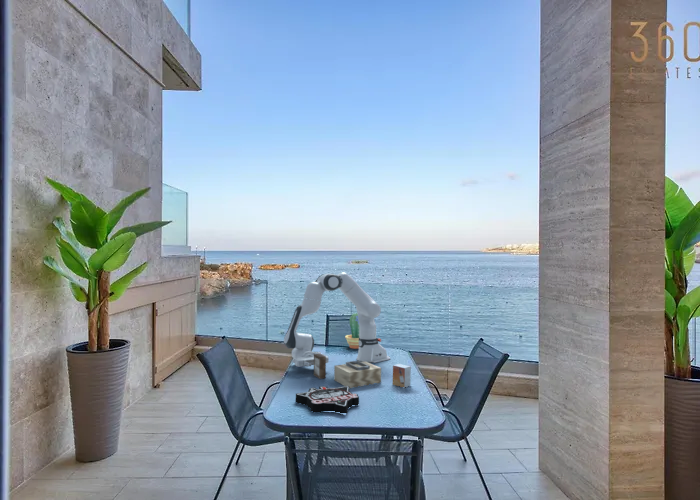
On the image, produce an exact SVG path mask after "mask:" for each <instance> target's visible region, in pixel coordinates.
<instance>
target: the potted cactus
mask: <svg viewBox="0 0 700 500" xmlns="http://www.w3.org/2000/svg"><path fill="white" fill-rule="evenodd" d="M349 326H350V331H351V334H346V335H345V336H344V337H345V339H346V342H347V344H348V346H349V348H350V349H355V350H356V349H358V350H359V319H358V313H352V314H351V315H350V317H349Z"/></svg>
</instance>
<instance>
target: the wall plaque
mask: <svg viewBox="0 0 700 500" xmlns="http://www.w3.org/2000/svg"><path fill="white" fill-rule="evenodd" d="M350 390H351V388H350V387H349V386H344V385H343V386H338V387H328V386H322V385H321V386H318V388H316V387H310V388H309V389H308V391H303V392H297V393H295V403H296V402H297V403H296V404H299V403H301V404H300V405H303V404H305V405H304V406H306V407H307V406H308V407H307V408H308V409H310V408H311V409H310V412H311V411H313V412H312V413H314V412H320V413H322V412H321V411H335V412H340V413H347V414H348V411H347V410H349V409H348V408H349V407H351V406H352V405H358V404H359V405H360V397H359V395H358V393H354V392H351V391H350ZM351 408H352V407H351Z"/></svg>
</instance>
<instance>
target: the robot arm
mask: <svg viewBox="0 0 700 500" xmlns="http://www.w3.org/2000/svg"><path fill="white" fill-rule="evenodd" d="M336 290H340V291H341V293H342V294H343V295H344V296H345V297H346V298H347V299H348V300H349V302H350V303H352V305H354V306H355V309H356V312H357V314H358V319H359V348H358V351H357V356H356V361H360V362H364V361H366V362H368V363H379V362H384V361H388V360H391V357H390V356H389V355H388V353H387V349H386V348H385V347H383V346H382V345H381V344H380V343H381V342H382V339H381V338H377V325H376V322H375V319H376V318H378V317H379V316H380V314H381V309H382V308H381V305H379V303H378V302H377V301H375V300H374V298H372V297H371V296H370V295H369V294H368V293H367V292H366V291H365V290H364V289H363V288H362V287H361V286H360V285H359V284H358V282H357V281H356V280H355V279H354V278H353V277H352V276H350V275H349V273H347V272H345V271H343V272H339V273H338V274H335V273H324V274H321V275H319V276H318V277H317V278H316V280H315V281H311V282H309V283H308V284H307V285H306V288H305V291H304V294H303V298H302V299H303V300H302V302H301V303H300V305H298V306H297V307H296V308H295V309H294V312H293V315H292V318H291V320H290V323H289V327H288V329H287V331H286V332H285V334H284V337H283V344H284V345H285V347H286V348H287V349H292V350H291V356H292V359H293V360H291V361H292V363H293V364H294V365H295V366H296V367H298V368H299V367H308V368H309V367H311V366H314V354H321V355H324V356H326V364H328V363H329V356H328V355H326V354H324V353H322V352H320V351H313V349H314V346H315V339H314V337H313V335H312V334H311V333H304V332H303V333H302V332H298V331H297V330H298V327H299V324H300V321H301V320H302V318H303V317H306V316H308V315H312V314H315V313H317V312H318V311H319V309H320V308H321V304H322V298H323V294H324V292H333V291H336ZM379 342H380V343H379Z"/></svg>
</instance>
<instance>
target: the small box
mask: <svg viewBox="0 0 700 500" xmlns="http://www.w3.org/2000/svg"><path fill="white" fill-rule="evenodd" d="M411 369H412V367H411V366H410V365H405V364H402V363H397V364H394V365H392V386H397V387H399V386H400V387H399V388H402V387H404V388H403V389H406V388H408V386H409V387H410V386H411V382H412V381H411V377H412V374H411V371H412V370H411ZM405 387H406V388H405Z"/></svg>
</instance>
